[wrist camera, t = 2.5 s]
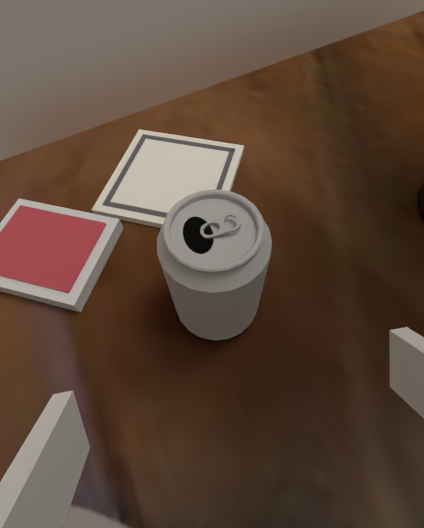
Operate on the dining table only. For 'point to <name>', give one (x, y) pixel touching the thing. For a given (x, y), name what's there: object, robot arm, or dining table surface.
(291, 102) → the dining table surface
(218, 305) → the can
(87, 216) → the ink pad
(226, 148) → the marked board
